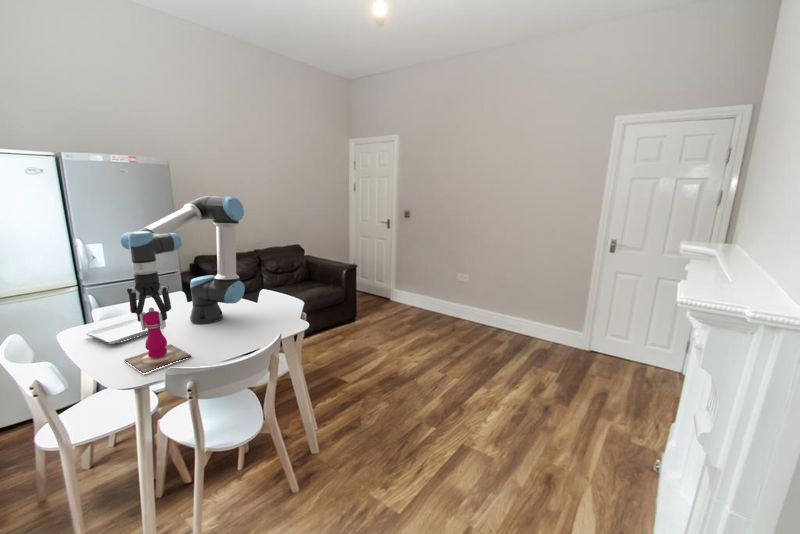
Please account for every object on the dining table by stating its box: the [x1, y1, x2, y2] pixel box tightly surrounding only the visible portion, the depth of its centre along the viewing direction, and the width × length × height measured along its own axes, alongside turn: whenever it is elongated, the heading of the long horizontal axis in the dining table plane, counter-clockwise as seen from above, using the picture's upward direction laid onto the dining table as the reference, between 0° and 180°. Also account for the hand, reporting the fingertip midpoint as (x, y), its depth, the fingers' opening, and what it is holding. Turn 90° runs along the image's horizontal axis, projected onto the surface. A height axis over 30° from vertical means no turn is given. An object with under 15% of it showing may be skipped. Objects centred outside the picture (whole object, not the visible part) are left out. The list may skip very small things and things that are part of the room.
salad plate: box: [85, 318, 148, 345], centre depth 163 cm, size 21×21×3 cm
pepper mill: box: [143, 307, 168, 358], centre depth 139 cm, size 7×7×20 cm
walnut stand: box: [124, 343, 192, 373], centre depth 141 cm, size 17×17×2 cm
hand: (154, 328), depth 138 cm, fingers closed on pepper mill, 6 cm apart
